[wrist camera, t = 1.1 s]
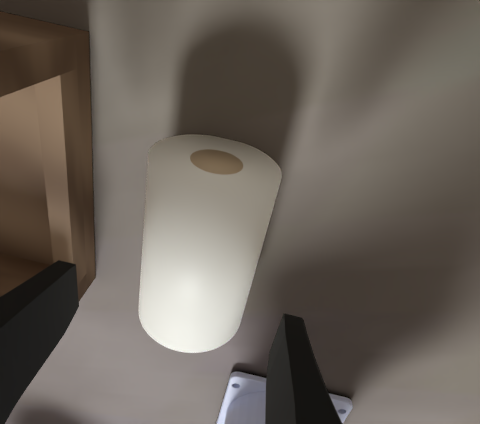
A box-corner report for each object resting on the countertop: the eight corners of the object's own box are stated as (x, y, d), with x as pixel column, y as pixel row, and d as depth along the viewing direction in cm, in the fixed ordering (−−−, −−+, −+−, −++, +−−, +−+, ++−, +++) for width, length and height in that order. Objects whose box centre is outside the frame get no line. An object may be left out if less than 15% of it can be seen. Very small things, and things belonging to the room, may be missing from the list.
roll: (246, 285, 20) (234, 364, 16) (157, 264, 20) (121, 338, 16) (283, 150, 16) (279, 210, 12) (170, 124, 16) (125, 174, 12)
